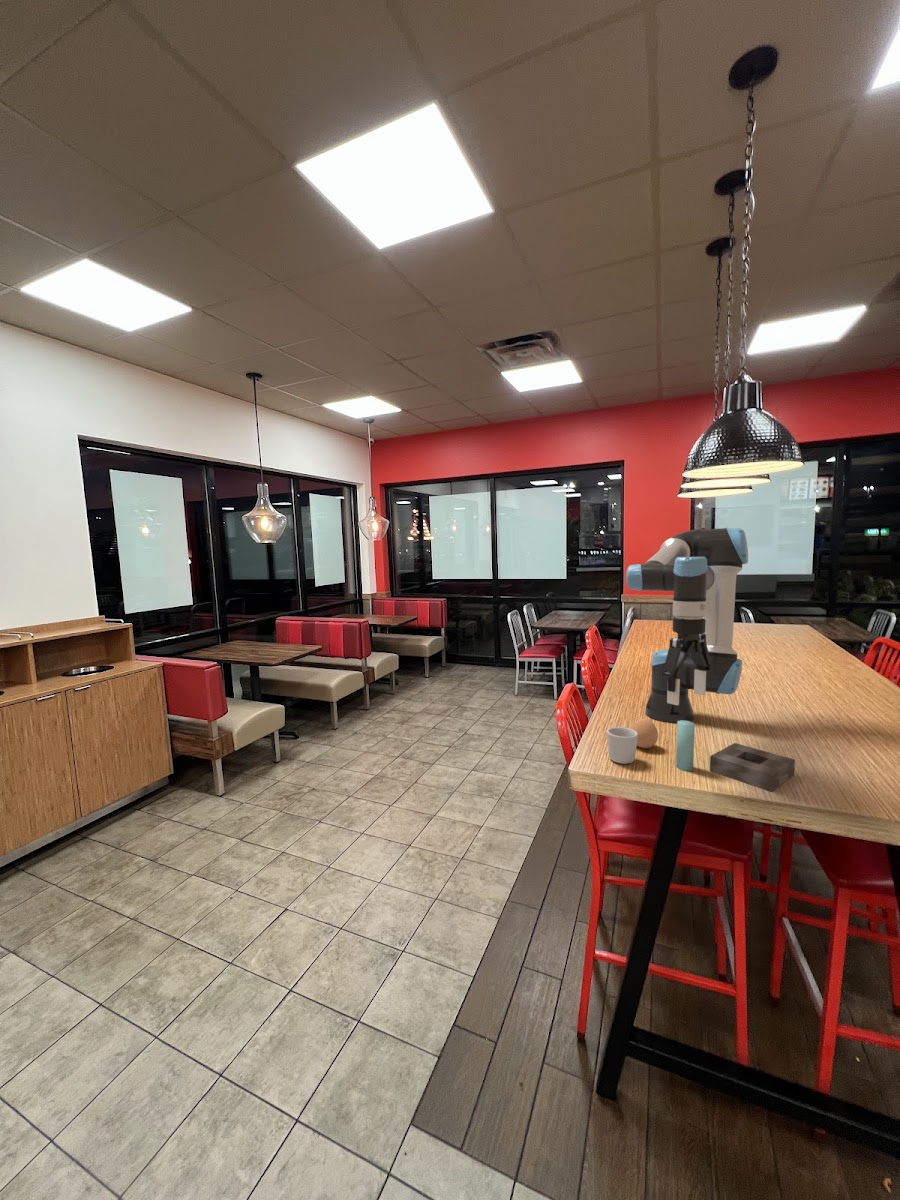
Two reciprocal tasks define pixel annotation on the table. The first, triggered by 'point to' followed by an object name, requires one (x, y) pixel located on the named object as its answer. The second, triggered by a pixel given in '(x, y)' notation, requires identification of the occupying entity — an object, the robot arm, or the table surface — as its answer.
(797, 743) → the table surface
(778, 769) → the socket
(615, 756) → the cup
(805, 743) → the table surface
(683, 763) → the peg
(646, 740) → the egg
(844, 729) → the table surface
